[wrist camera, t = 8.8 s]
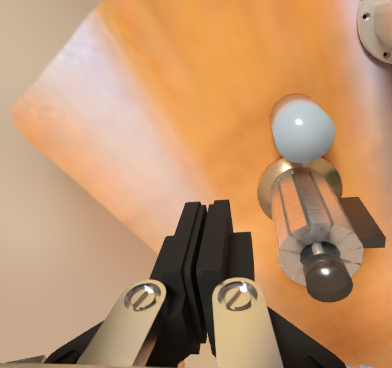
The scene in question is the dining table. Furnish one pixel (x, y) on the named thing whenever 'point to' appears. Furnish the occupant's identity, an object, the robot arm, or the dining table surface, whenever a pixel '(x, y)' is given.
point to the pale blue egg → (301, 129)
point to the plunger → (326, 275)
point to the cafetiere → (314, 215)
